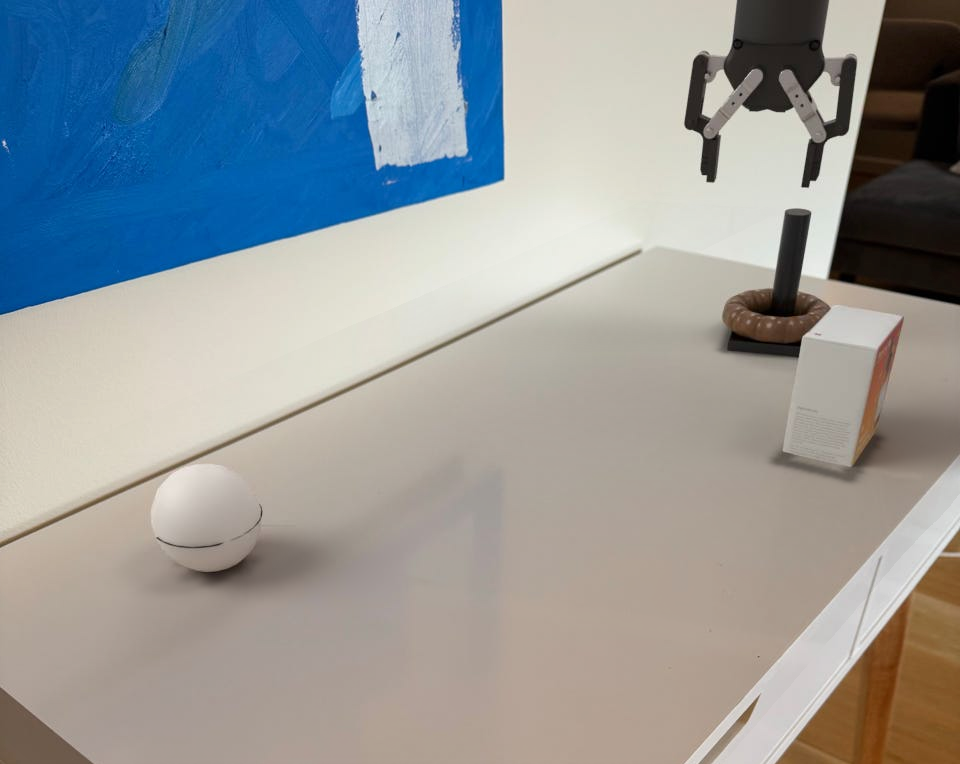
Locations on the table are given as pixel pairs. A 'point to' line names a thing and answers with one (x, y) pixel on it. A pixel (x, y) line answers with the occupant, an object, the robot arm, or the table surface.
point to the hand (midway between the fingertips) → (758, 183)
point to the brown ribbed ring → (750, 323)
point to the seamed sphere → (206, 517)
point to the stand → (782, 284)
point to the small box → (841, 384)
